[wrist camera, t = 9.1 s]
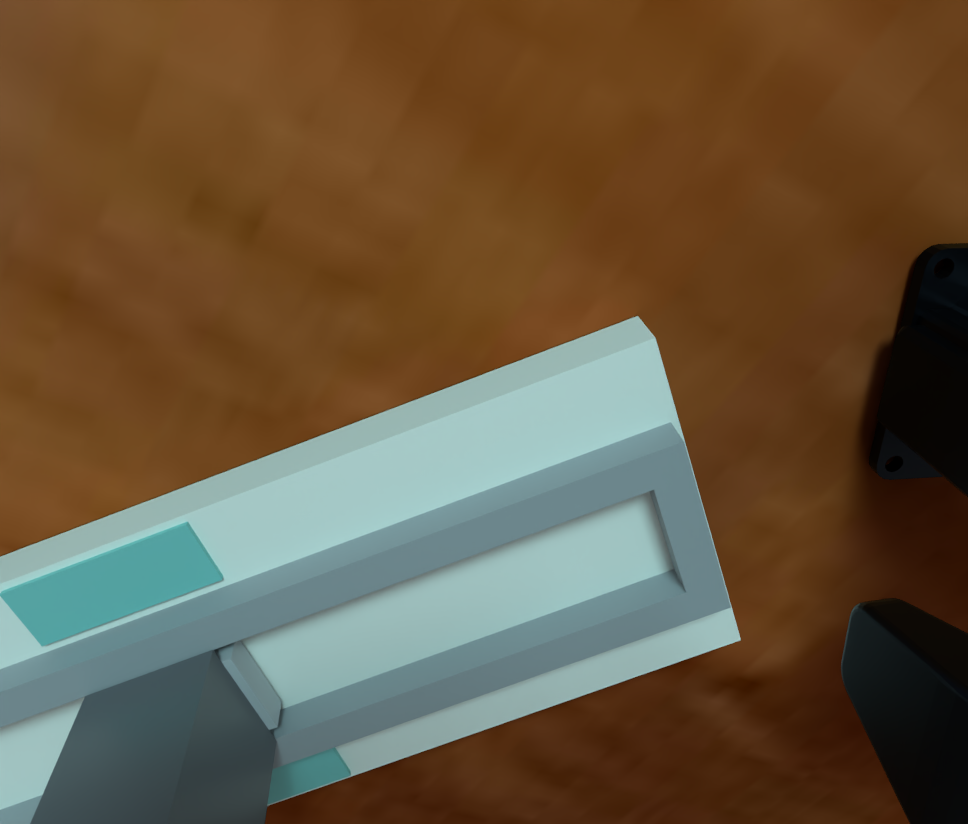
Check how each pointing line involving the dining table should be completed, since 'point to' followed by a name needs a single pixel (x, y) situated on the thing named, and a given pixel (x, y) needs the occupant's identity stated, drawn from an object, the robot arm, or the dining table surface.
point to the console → (390, 572)
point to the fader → (170, 748)
